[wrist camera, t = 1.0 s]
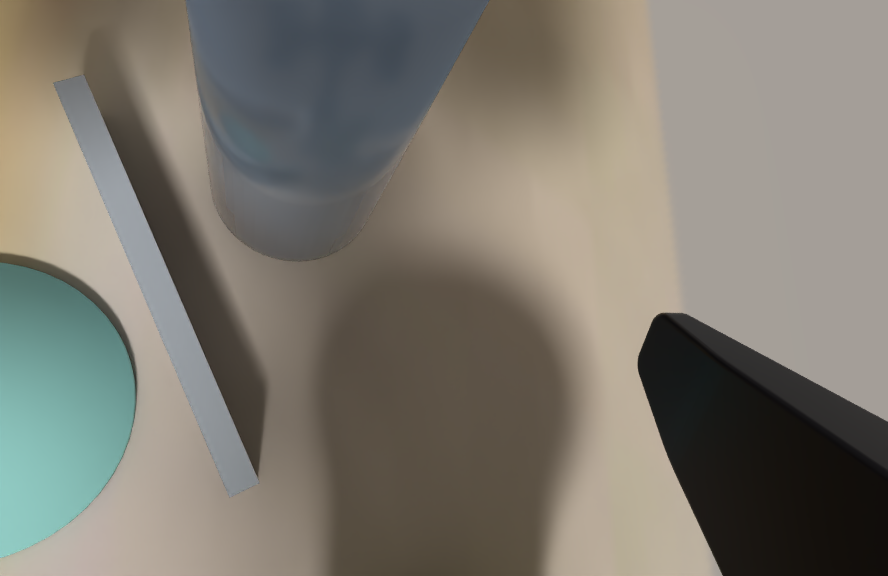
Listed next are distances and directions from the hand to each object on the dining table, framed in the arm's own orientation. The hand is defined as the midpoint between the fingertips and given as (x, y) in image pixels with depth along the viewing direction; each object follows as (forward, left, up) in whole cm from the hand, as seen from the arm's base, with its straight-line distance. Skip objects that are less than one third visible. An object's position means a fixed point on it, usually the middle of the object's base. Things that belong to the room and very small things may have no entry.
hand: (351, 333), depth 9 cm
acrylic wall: (+4, +2, -13) cm, 14 cm away
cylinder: (+6, -3, -13) cm, 14 cm away
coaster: (+3, +8, -13) cm, 15 cm away
